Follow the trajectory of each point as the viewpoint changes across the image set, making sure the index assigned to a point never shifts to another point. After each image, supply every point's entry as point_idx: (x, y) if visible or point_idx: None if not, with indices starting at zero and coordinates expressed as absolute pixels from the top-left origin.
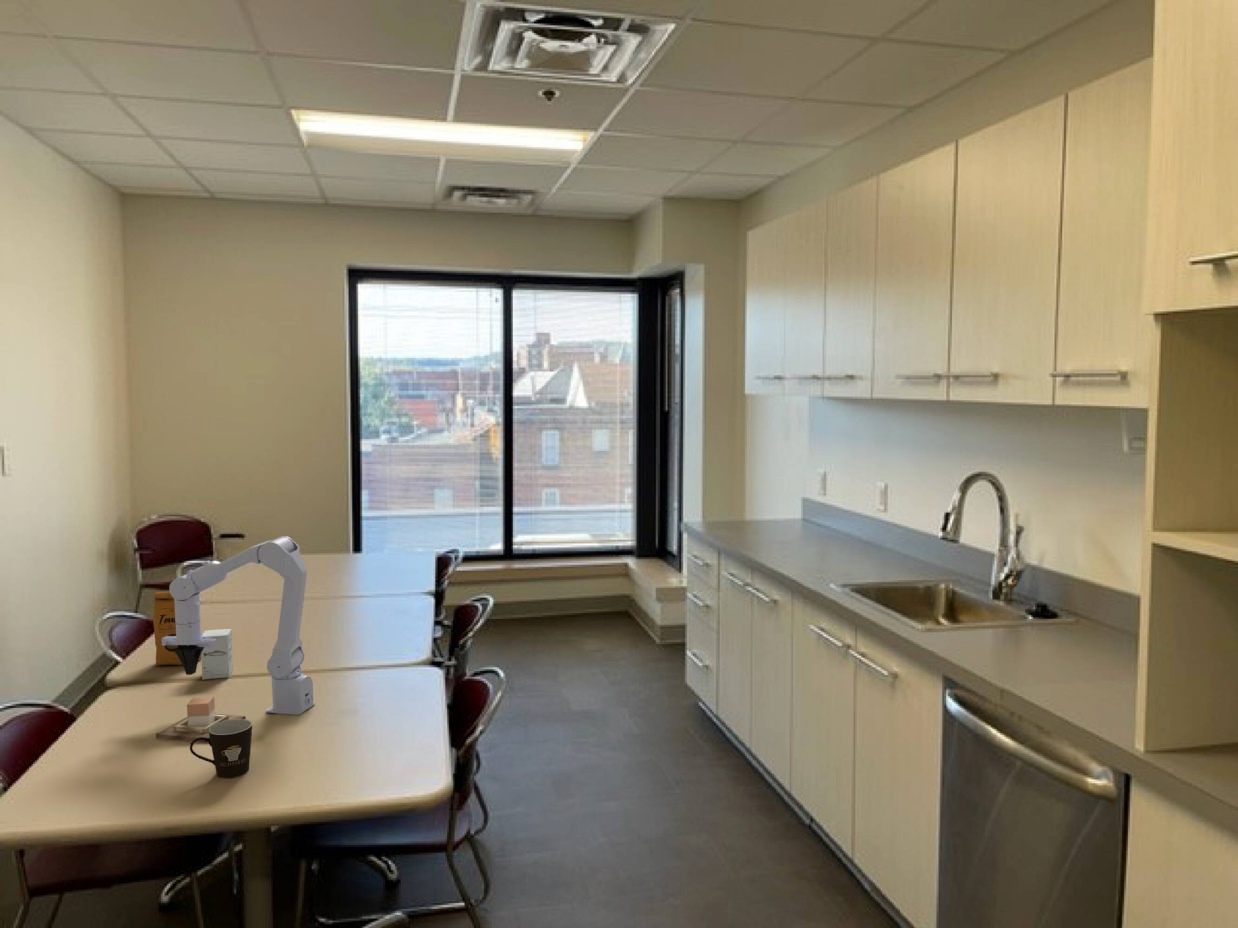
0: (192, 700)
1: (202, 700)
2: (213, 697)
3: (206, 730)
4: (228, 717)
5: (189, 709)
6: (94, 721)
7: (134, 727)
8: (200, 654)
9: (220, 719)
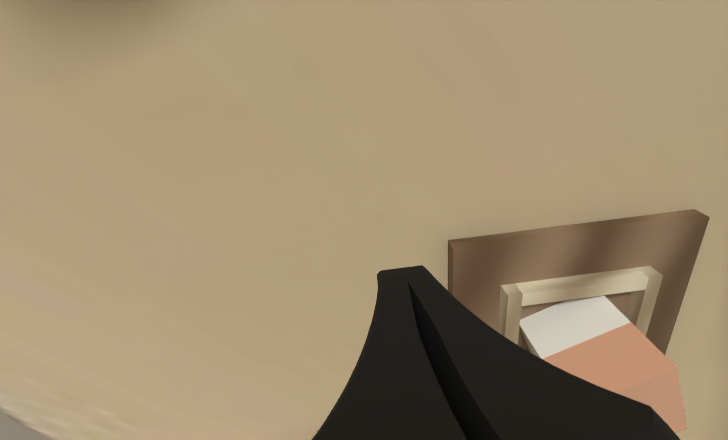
0: None
1: None
2: (675, 373)
3: None
4: (655, 271)
5: None
6: (82, 397)
7: (295, 385)
8: (543, 365)
9: (646, 315)
